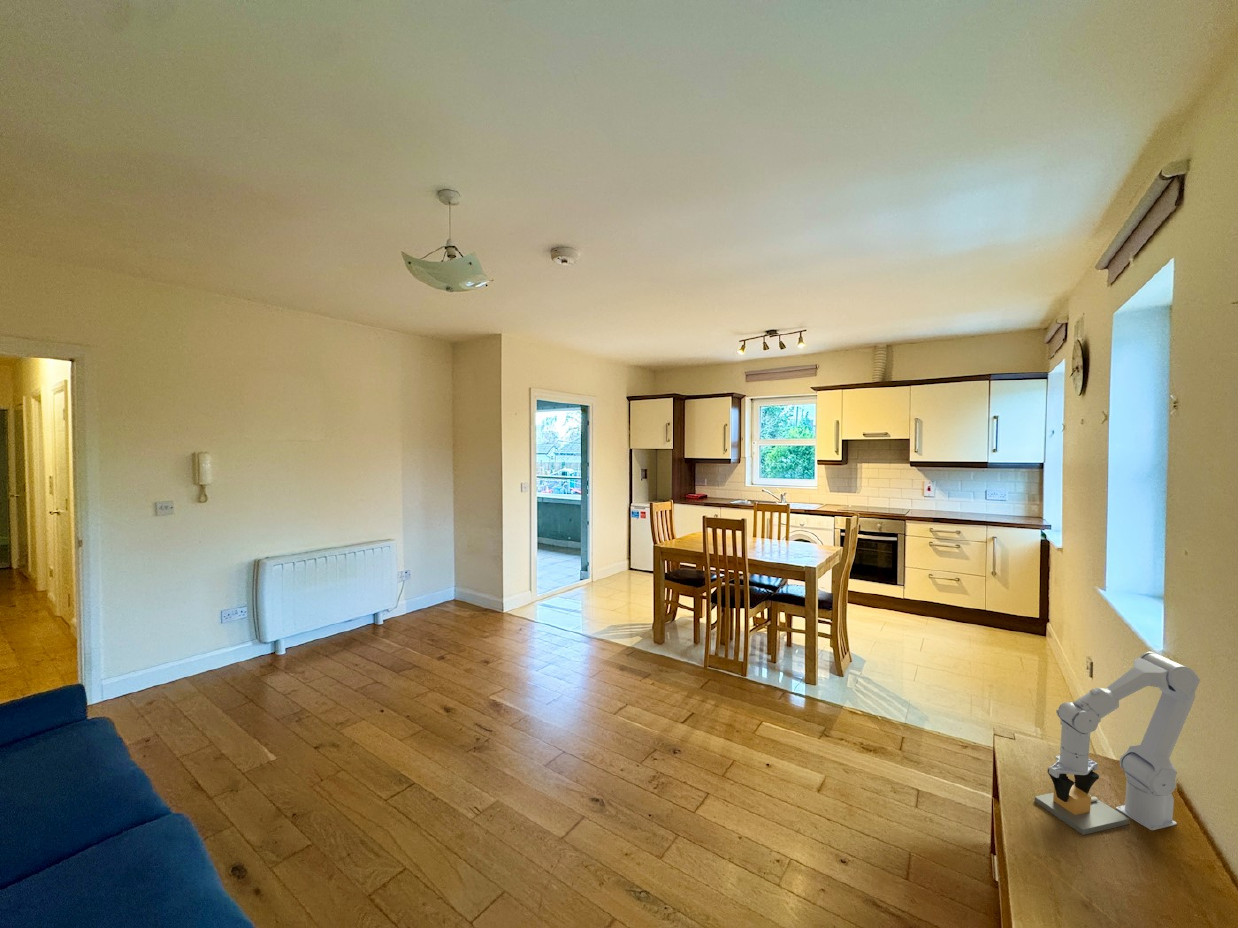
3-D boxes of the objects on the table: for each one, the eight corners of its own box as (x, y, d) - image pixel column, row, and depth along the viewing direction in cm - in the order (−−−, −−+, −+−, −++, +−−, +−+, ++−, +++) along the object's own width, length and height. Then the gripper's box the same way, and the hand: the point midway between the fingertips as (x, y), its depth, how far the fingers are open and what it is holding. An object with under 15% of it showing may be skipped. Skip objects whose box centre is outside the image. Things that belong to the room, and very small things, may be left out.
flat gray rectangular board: (1077, 792, 144) (1078, 777, 144) (1128, 823, 132) (1130, 807, 132) (1034, 801, 140) (1035, 785, 140) (1082, 834, 128) (1084, 818, 128)
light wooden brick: (1067, 797, 140) (1068, 782, 139) (1090, 811, 134) (1091, 796, 134) (1053, 800, 138) (1054, 785, 138) (1075, 814, 133) (1076, 799, 133)
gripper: (1078, 736, 141) (1075, 783, 142) (1038, 743, 138) (1035, 791, 139) (1107, 752, 134) (1104, 800, 135) (1066, 760, 131) (1063, 809, 132)
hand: (1071, 797), depth 136 cm, fingers open, 6 cm apart
